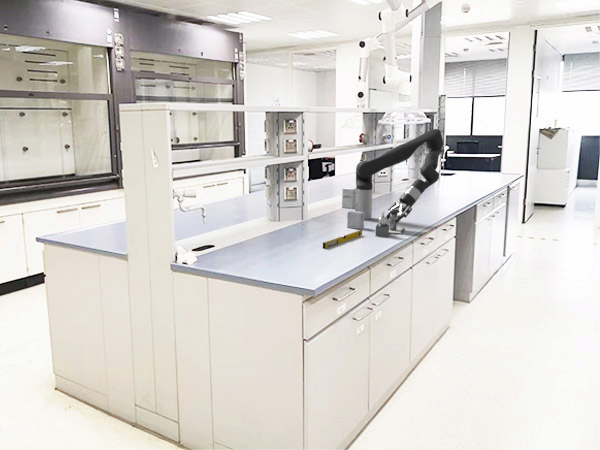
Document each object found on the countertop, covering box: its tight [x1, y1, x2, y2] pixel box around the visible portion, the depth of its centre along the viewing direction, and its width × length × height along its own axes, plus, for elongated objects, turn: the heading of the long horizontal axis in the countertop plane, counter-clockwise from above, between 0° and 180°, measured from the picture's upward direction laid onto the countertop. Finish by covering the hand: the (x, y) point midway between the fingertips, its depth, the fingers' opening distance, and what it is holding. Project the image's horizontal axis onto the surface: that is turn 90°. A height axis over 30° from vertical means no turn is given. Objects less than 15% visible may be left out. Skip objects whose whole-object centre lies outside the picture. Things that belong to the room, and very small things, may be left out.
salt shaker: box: [388, 208, 398, 231], centre depth 272 cm, size 4×4×10 cm
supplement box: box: [341, 187, 356, 209], centre depth 343 cm, size 7×7×13 cm
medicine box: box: [346, 210, 365, 230], centre depth 281 cm, size 8×4×9 cm, turn 59°
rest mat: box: [389, 226, 406, 235], centre depth 274 cm, size 11×14×1 cm
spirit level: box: [322, 229, 363, 249], centre depth 250 cm, size 33×1×3 cm, turn 144°
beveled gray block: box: [374, 211, 390, 238], centre depth 263 cm, size 6×6×12 cm
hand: (390, 220), depth 272 cm, fingers open, 8 cm apart
